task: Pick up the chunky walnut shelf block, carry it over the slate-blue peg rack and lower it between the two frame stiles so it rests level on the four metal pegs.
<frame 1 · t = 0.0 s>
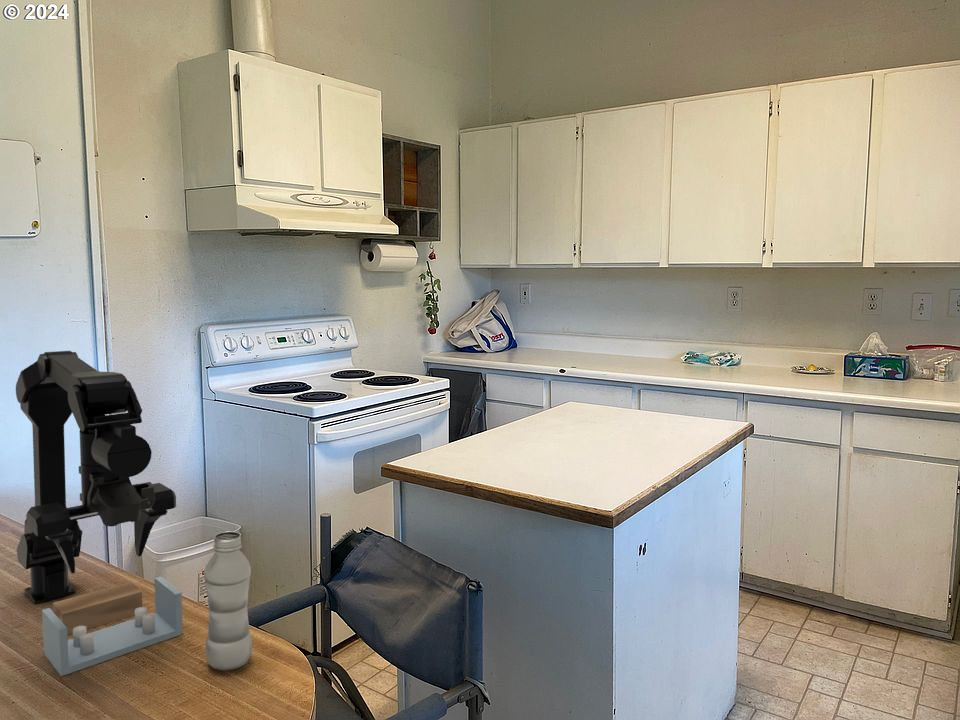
hand: (106, 563, 106), 15 cm above the table, fingers open, 9 cm apart
peg rack: (115, 643, 112), on the table
plastic bottle: (229, 665, 107), on the table
shelf block: (99, 619, 119), on the table
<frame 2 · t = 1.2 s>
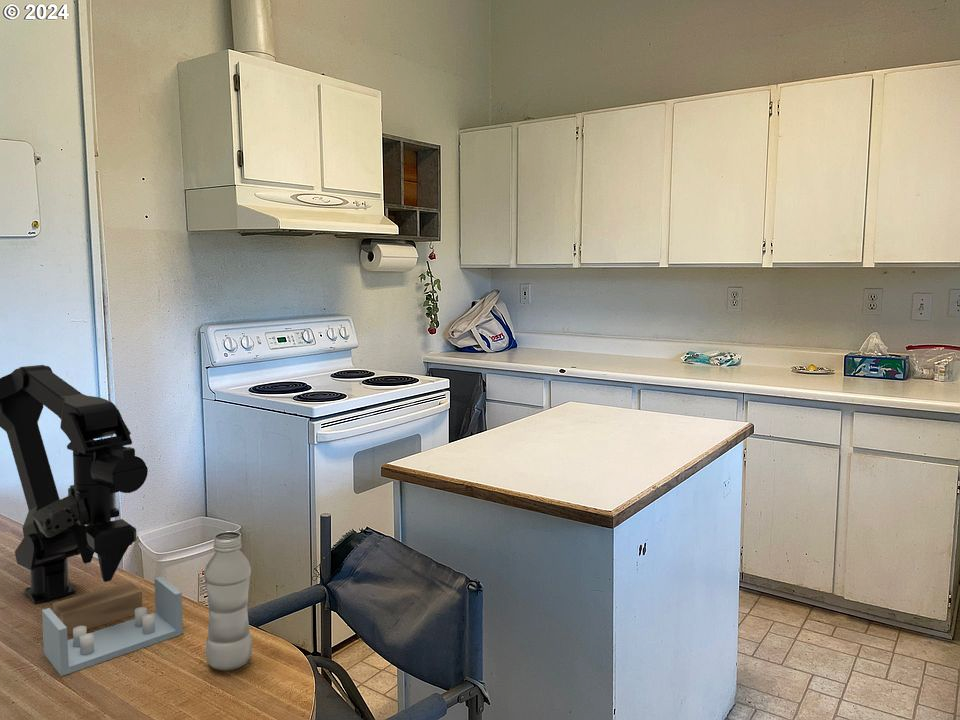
hand: (97, 571, 118), 8 cm above the table, fingers open, 9 cm apart
nothing on the table moved.
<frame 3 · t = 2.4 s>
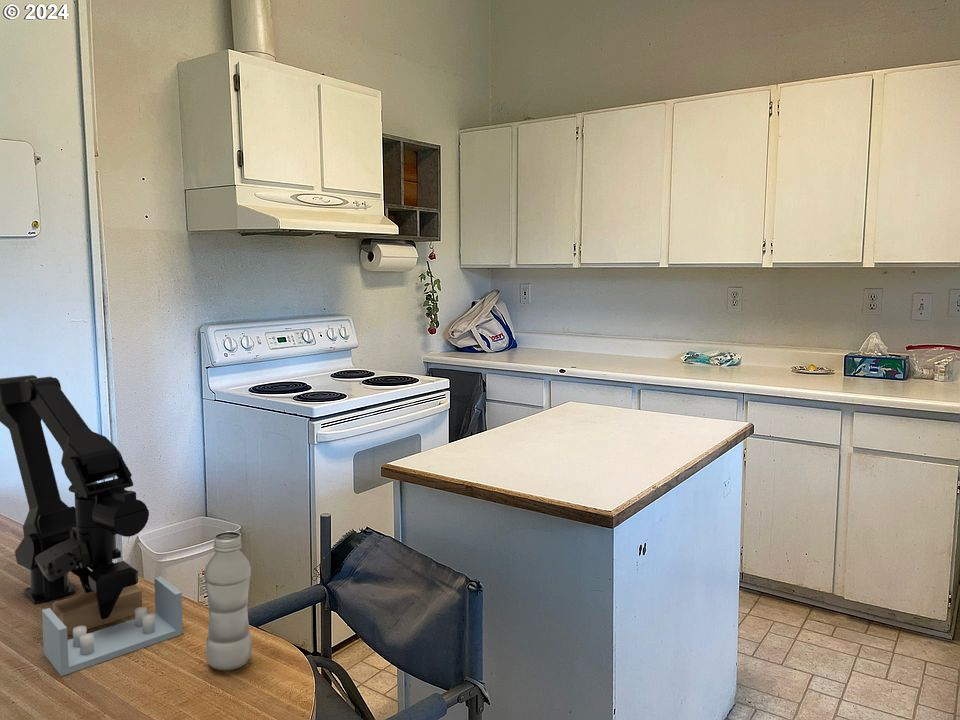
hand: (99, 612, 119), 1 cm above the table, fingers closed on shelf block, 5 cm apart
shelf block: (99, 619, 119), on the table, touching gripper
everything else where it was.
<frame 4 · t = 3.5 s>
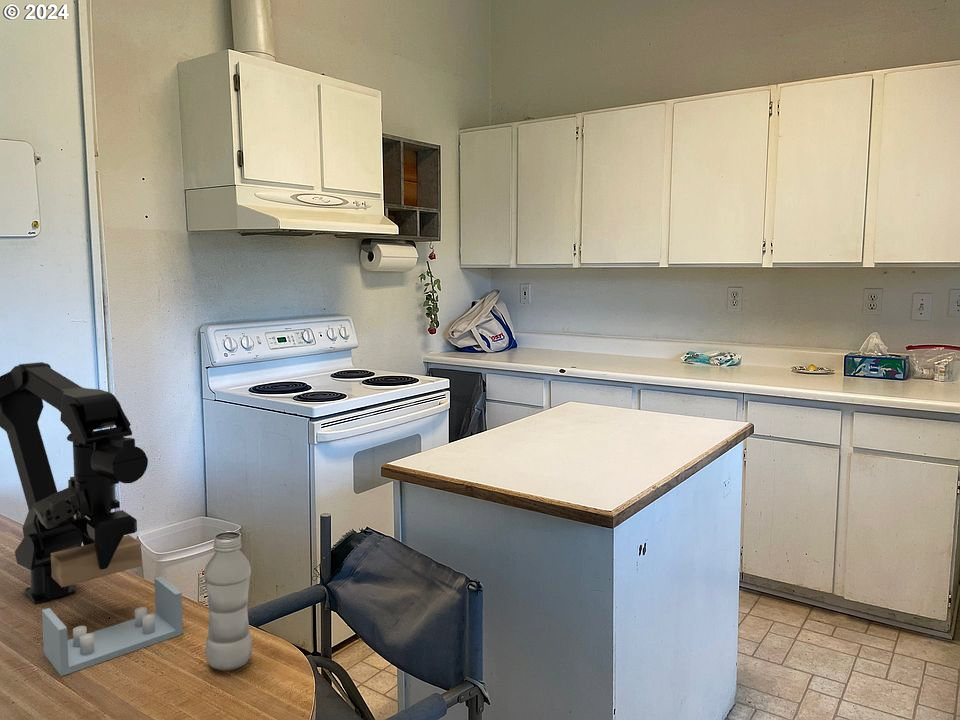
hand: (97, 563, 118), 10 cm above the table, fingers closed on shelf block, 5 cm apart
shelf block: (97, 571, 118), point 8 cm above the table, touching gripper
everything else where it was.
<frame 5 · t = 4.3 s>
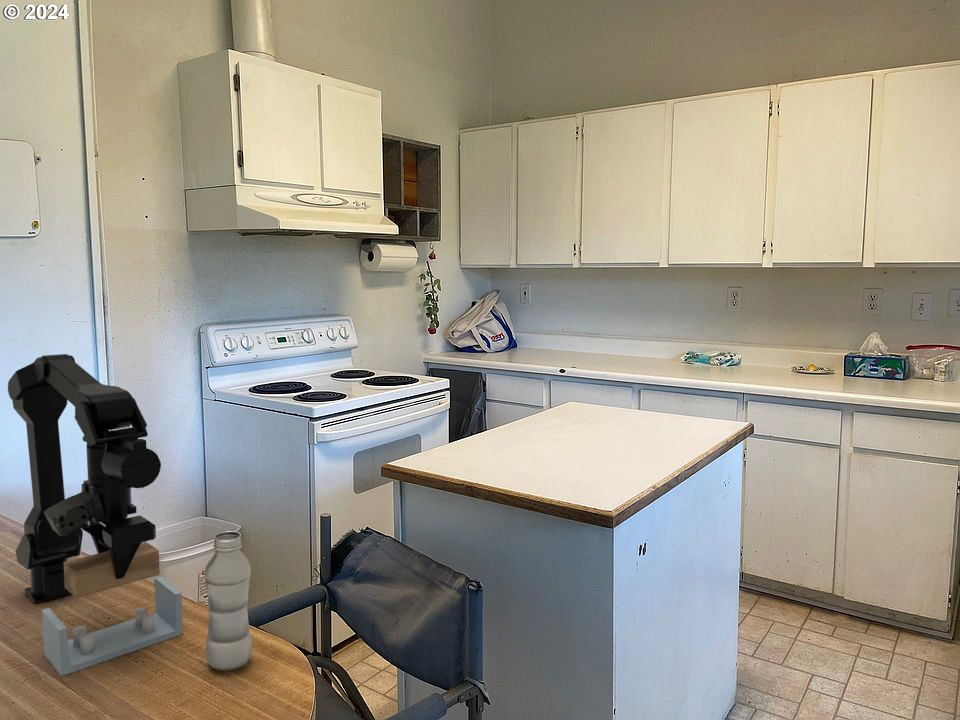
hand: (113, 572, 111), 11 cm above the table, fingers closed on shelf block, 5 cm apart
shelf block: (113, 581, 111), point 10 cm above the table, touching gripper
everything else where it was.
when the fingers open (5 cm above the table, at t = 5.7 s): shelf block stays where it is, resting on peg rack.
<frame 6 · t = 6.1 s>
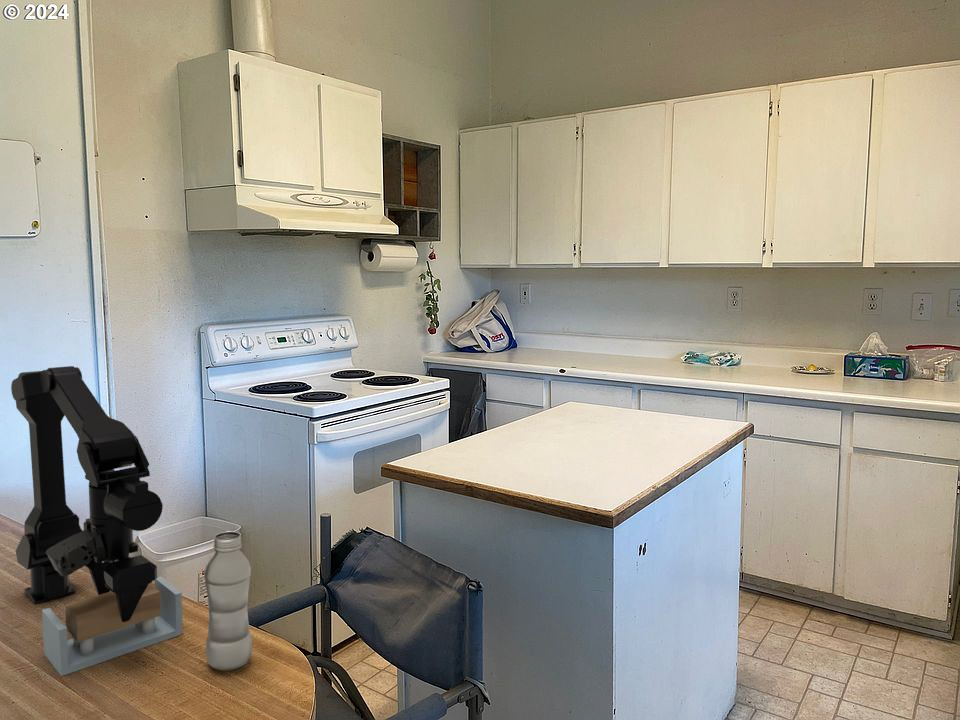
hand: (114, 610, 111), 5 cm above the table, fingers open, 9 cm apart
shelf block: (114, 622, 111), point 3 cm above the table, touching peg rack
everything else where it was.
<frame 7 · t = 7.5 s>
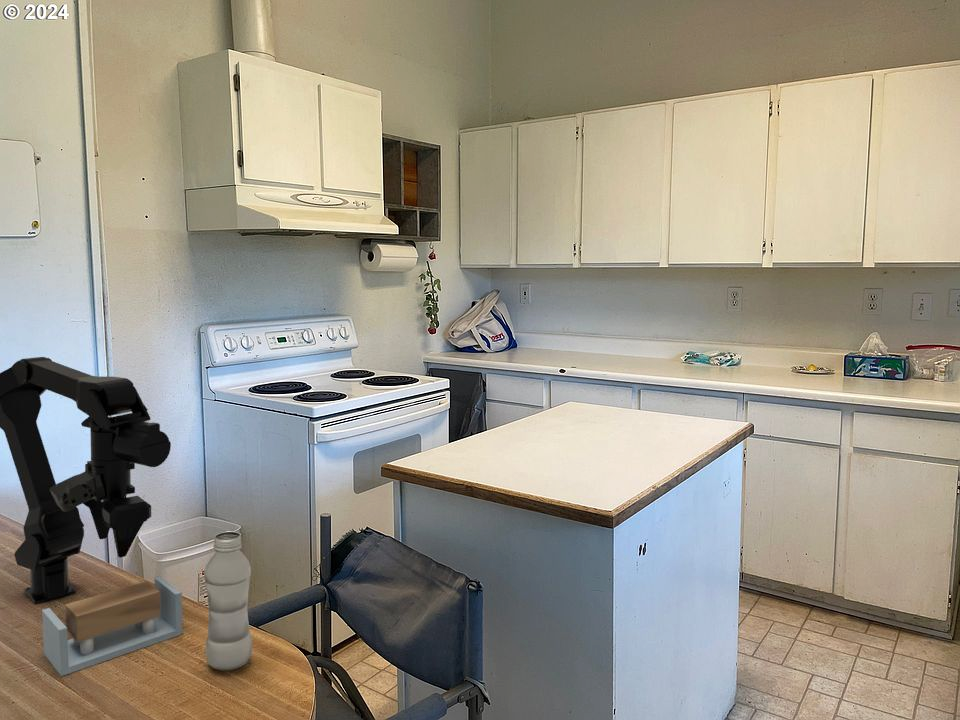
hand: (112, 547, 119), 12 cm above the table, fingers open, 9 cm apart
nothing on the table moved.
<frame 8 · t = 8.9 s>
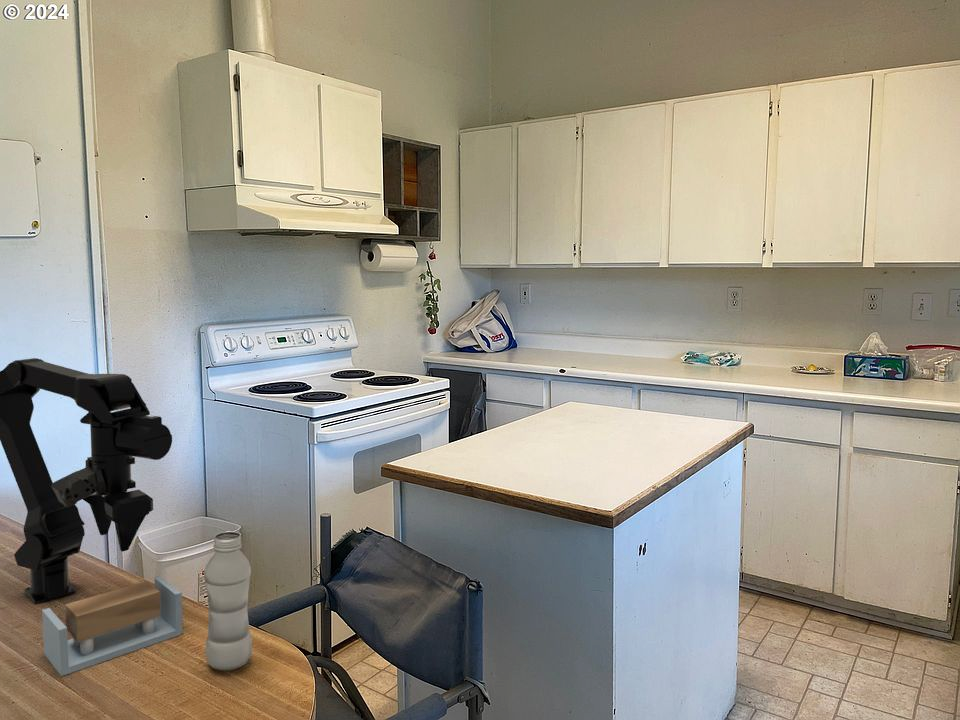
hand: (113, 542, 120), 12 cm above the table, fingers open, 9 cm apart
nothing on the table moved.
at the end: shelf block 0.0 cm off-centre on the peg rack, point 3.5 cm above the peg rack's base; shelf block tilted 0°; the gripper is holding nothing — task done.
